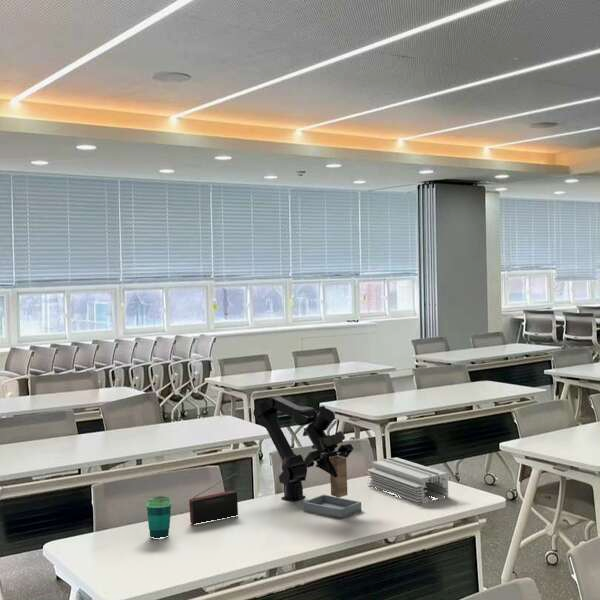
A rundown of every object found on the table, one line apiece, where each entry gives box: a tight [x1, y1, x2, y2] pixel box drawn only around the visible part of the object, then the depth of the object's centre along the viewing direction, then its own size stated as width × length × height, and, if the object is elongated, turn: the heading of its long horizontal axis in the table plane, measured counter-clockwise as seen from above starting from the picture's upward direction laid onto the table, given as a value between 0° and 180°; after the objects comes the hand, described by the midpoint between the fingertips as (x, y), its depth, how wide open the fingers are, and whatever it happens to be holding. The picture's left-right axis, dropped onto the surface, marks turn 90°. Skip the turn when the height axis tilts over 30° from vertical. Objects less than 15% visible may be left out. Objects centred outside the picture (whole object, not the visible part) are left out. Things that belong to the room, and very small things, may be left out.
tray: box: [302, 493, 362, 520], centre depth 273 cm, size 17×11×3 cm, turn 48°
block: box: [329, 456, 348, 498], centre depth 269 cm, size 4×4×13 cm
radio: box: [188, 471, 240, 525], centre depth 268 cm, size 19×3×15 cm, turn 120°
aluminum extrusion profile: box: [366, 456, 449, 506], centre depth 292 cm, size 14×31×10 cm, turn 29°
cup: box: [145, 495, 173, 538], centre depth 254 cm, size 8×8×12 cm
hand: (341, 475), depth 268 cm, fingers closed on block, 4 cm apart
